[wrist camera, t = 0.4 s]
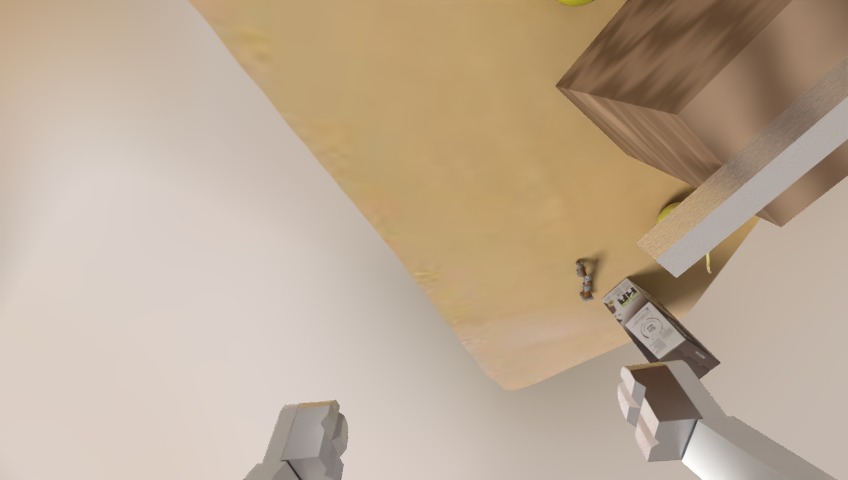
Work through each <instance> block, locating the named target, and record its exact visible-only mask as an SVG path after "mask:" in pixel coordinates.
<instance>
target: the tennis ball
mask: <svg viewBox="0 0 848 480" xmlns="http://www.w3.org/2000/svg"><path fill="white" fill-rule="evenodd" d="M557 1H559V2H560V3H562V4H564V5H567V6H582V5H585V4H588V3H590V2H592V1H594V0H557Z"/></svg>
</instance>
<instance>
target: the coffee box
mask: <svg viewBox="0 0 848 480" xmlns="http://www.w3.org/2000/svg"><path fill="white" fill-rule="evenodd" d="M602 301H603V303H604V304H605V305H606V306H607V308H608V309H609V310H610V312H611V313H612V314H613V316H614V317H615V318H616V320H617V321H618V322H619V323H620V325H621V326H622V327H623V328H624V330H625V331H626V332H627V334H628V335H629V336H630V338H631V339H632V340H633V342H634V343H635V344H636V345H637V347H638V348H639V349H640V351H641V352H642V353H643V355H644V356H645V357H646V358H647V360H648V361H649V362H650V363H655V362H668V361H675V360H683V361H684V362H686V363H687V364H688V366H689V367H690V368H691V370H692V371H693V372H694V373H695V375H696V376H697V377H698V379H700V378H702V377H703V376H704V375H705V374H707V373H708V372H709V371H710V370H711V369H713V368H714V367H715V366H717V365H719V364H720V362H719V361H718V360H717V359H716V358H715V357H714V356H713V355H712V354H711V353H710V352H709V351H708V350H707V349H706V348H705V347H704V346H703V345H702V344H701V343H700V342H699V341H698V340H697V339H696V338H695V337H694V336H693V335H692V334H691V333H690V332H689V331H688V330H687V329H686V328H685V327H684V326H683V325H682V324H681V323H680V322H679V321H678V320H677V319H676V318H675V317H674V316H673V315H672V314H671V313H670V312H669V311H668V310H667V309H666V308H665V307H664V306H663V305H662V304H661V303H660V302H659V301H658V300H657V299H655V298H654V297H653V296H651V295H650V294H649V293H647V292H646V291H644V290H643V289H642V288H640V287H639V286H638V285H636V284H635V283H633V282H632V281H631V280H629V279H628V278H626V279H624V280H623V281H622V282H621V283H620V284H619V285H618V286H616V287H615V288H614V289H613V290H612V291H611V292H610V293H608V294H607V295H606V296H605V297H604V298H603V299H602Z"/></svg>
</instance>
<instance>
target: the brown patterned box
mask: <svg viewBox="0 0 848 480" xmlns="http://www.w3.org/2000/svg"><path fill="white" fill-rule="evenodd" d="M847 54H848V0H628V1H627V2H626V3H625V4H624V5H623V7H622V8H621V9H620V10H619V11H618V13H617V14H616V15H615V16H614V17H613V18H612V20H611V21H610V22H609V23H608V24H607V26H606V27H605V28H604V29H603V30H602V31H601V33H600V34H599V35H598V36H597V37H596V39H595V40H594V41H593V42H592V43H591V44H590V46H589V47H588V48H587V49H586V50H585V52H584V53H583V54H582V55H581V56H580V57H579V59H578V60H577V61H576V62H575V63H574V65H573V66H572V67H571V68H570V69H569V70H568V72H567V73H566V74H565V75H564V76H563V78H562V79H561V80H560V81H559V82H558V84H557V85H556V87H557V88H558V89H559V90H560V91H561V92H562V93H563V94H564V95H565V96H566V97H567V98H568V99H569V100H570V101H571V102H572V103H573V104H575V105H576V106H577V107H578V108H579V109H580V110H581V111H582V112H583V113H584V114H585V115H586V116H587V117H588V118H589V119H590V120H591V121H592V122H593V123H594V124H596V125H597V126H598V127H599V128H600V129H601V130H602V131H603V132H604V133H605V134H606V135H607V136H608V137H609V138H610V139H611V140H612V141H613V142H614V143H615V144H617V145H618V146H619V147H620V148H621V149H622V150H623V151H624V152H625V153H626V154H627V155H629V156H631V157H633V158H635V159H637V160H640V161H642V162H644V163H646V164H648V165H650V166H652V167H654V168H657V169H659V170H661V171H663V172H665V173H667V174H669V175H671V176H674V177H676V178H678V179H680V180H682V181H684V182H686V183H688V184H691V185H693V186H695V187H697V188H698V187H699V186H700V185H702V184H703V183H704V182H705V181H706V180H707V179H708V178H709V177H711V176H712V175H713V174H714V173H715V172H716V171H717V170H718V169H720V168H721V167H722V166H723V165H724V164H725V163H726V162H727V161H729V160H730V159H731V158H732V157H733V156H734V155H735V154H736V153H737V152H739V151H740V150H741V149H742V148H743V147H744V146H745V145H746V144H748V143H749V142H750V141H751V140H752V139H753V138H754V137H755V136H757V135H758V134H759V133H760V132H761V131H762V130H763V129H764V128H766V127H767V126H768V125H769V124H770V123H771V122H772V121H773V120H774V119H776V118H777V117H778V116H779V115H780V114H781V113H782V112H783V111H785V110H786V109H787V108H788V107H789V106H790V105H791V104H792V103H794V102H795V101H796V100H797V99H798V98H799V97H800V96H801V95H803V94H804V93H805V92H806V91H807V90H808V89H809V88H810V87H812V86H813V85H814V84H815V83H816V82H817V81H818V80H819V79H820V78H822V77H823V76H824V75H825V74H826V73H827V72H828V71H829V70H831V69H832V68H833V67H834V66H835V65H836V64H837V63H838V62H840V61H841V60H842V59H843V58H844V57H845V56H846V55H847ZM846 176H848V139H847V140H846V141H845V142H843V143H842V144H841V145H840V146H839V147H837V148H836V149H835V150H834V151H832V152H831V153H830V154H829V155H827V156H826V157H825V158H824V159H823V160H821V161H820V162H819V163H818V164H816V165H815V166H814V167H813V168H811V169H810V170H809V171H808V172H807V173H805V174H804V175H803V176H802V177H800V178H799V179H798V180H797V181H795V182H794V183H793V184H792V185H791V186H789V187H788V188H787V189H786V190H784V191H783V192H782V193H781V194H779V195H778V196H777V197H776V198H775V199H773V200H772V201H771V202H770V203H768V204H767V205H766V206H765V207H763V208H762V209H761V210H760V211H759V212H757V213H756V214H755V215H756V216H758V217H761V218H763V219H765V220H767V221H769V222H771V223H773V224H775V225H778V226H780V227H782V226H783V225H785V224H786V223H787V222H788V221H790V220H791V219H792V218H794V217H795V216H796V215H797V214H799V213H800V212H801V211H803V210H804V209H805V208H806V207H808V206H809V205H810V204H812V203H813V202H814V201H815V200H817V199H818V198H819V197H821V196H822V195H823V194H824V193H826V192H827V191H828V190H829V189H831V188H832V187H833V186H835V185H836V184H837V183H839V182H840V181H841V180H842V179H844V178H845V177H846Z"/></svg>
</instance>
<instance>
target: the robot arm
mask: <svg viewBox="0 0 848 480" xmlns="http://www.w3.org/2000/svg"><path fill="white" fill-rule="evenodd" d="M620 376H621V377H622V379H623V382H621V383H620V384H619V385H618V392H617V394H618V400H619V404H620V407H621V410H622V412H623V414H624V416H625V418H626V420H627V421H628V422H629V423H631V424H632V425H634V426H635V427H636V432H635V439H636V441H637V442H638V445H639V446H640V448H641V450H642V452H643V454H644V456H645V458H646V460H647V462H654V461H669V460H682V462H683V463H684V464H685V465H686V466H687V467H689V468H690V469H691V470H692V471H693V472H694V473H695V474H697V475H698V476H699V477H700V478H701V479H702V480H837V479H835V478H833V477H832V476H830V475H828V474H827V473H825V472H824V471H822V470H820V469H819V468H817V467H815V466H814V465H812V464H811V463H809V462H807V461H806V460H804V459H802V458H801V457H799V456H797V455H796V454H794V453H793V452H791V451H789V450H788V449H786V448H785V447H783V446H781V445H780V444H778V443H776V442H775V441H773V440H771V439H770V438H768V437H767V436H765V435H763V434H762V433H760V432H758V431H757V430H755V429H754V428H752V427H750V426H749V425H747V424H745V423H744V422H742V421H741V420H739V419H737V418H736V417H734V416H728V417H727V416H726V414H725V413H724V412H723V411H722V409H721V408H720V407H719V405H718V404H717V403H716V401H715V400H714V399H713V397H712V396H711V395H710V393H709V392H708V391H707V390H706V388H705V387H704V385H703V384H702V383H701V381H700V380H699V379H698V377H697V376H696V375H695V373H694V372H693V371H692V370H691V368H690V367H689V366H688V364H687V363H686V362H684V361H683V360H675V361H668V362H655V363H648V364H640V365H632V366H625V367H623V368H622V369H621V374H620ZM347 442H348V426H347V421H346V418H345V416H344V415H342V414H341V413H339V404H338V403H337V401H336V400H331V401H320V402H310V403H299V404H290V405H285V406H284V407H283V409H282V410H281V411H280V414H279V417H278V419H277V422H276V425H275V428H274V431H273V434H272V437H271V439H270V442H269V445H268V448H267V451H266V454H265V456H264V459H263V462H262V463H260V464H257V465H256V466H255V467H254V468H253V469H252V470H251V471H250V472H249V474H248V475H247V476H246V477H245V478H244V479H243V480H341V477H342V472H343V466H344V465H343V463H342V461H341V459H340V456H341V455H342V454H343V453H344V451H345V450H346V448H347Z"/></svg>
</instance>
